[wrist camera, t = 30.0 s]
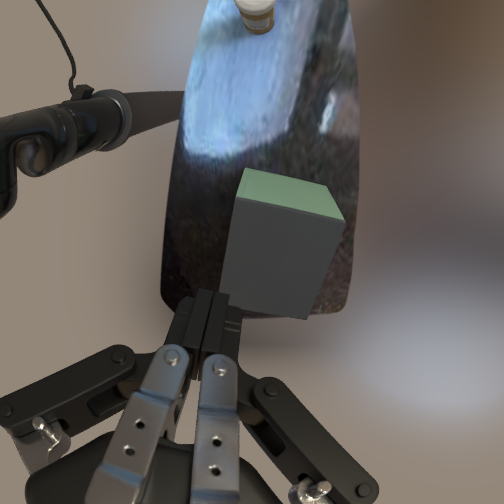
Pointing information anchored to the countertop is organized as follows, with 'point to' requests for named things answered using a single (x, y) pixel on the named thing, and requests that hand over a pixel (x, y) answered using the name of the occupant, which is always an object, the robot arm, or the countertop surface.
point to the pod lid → (277, 257)
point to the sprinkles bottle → (257, 14)
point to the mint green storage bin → (287, 192)
